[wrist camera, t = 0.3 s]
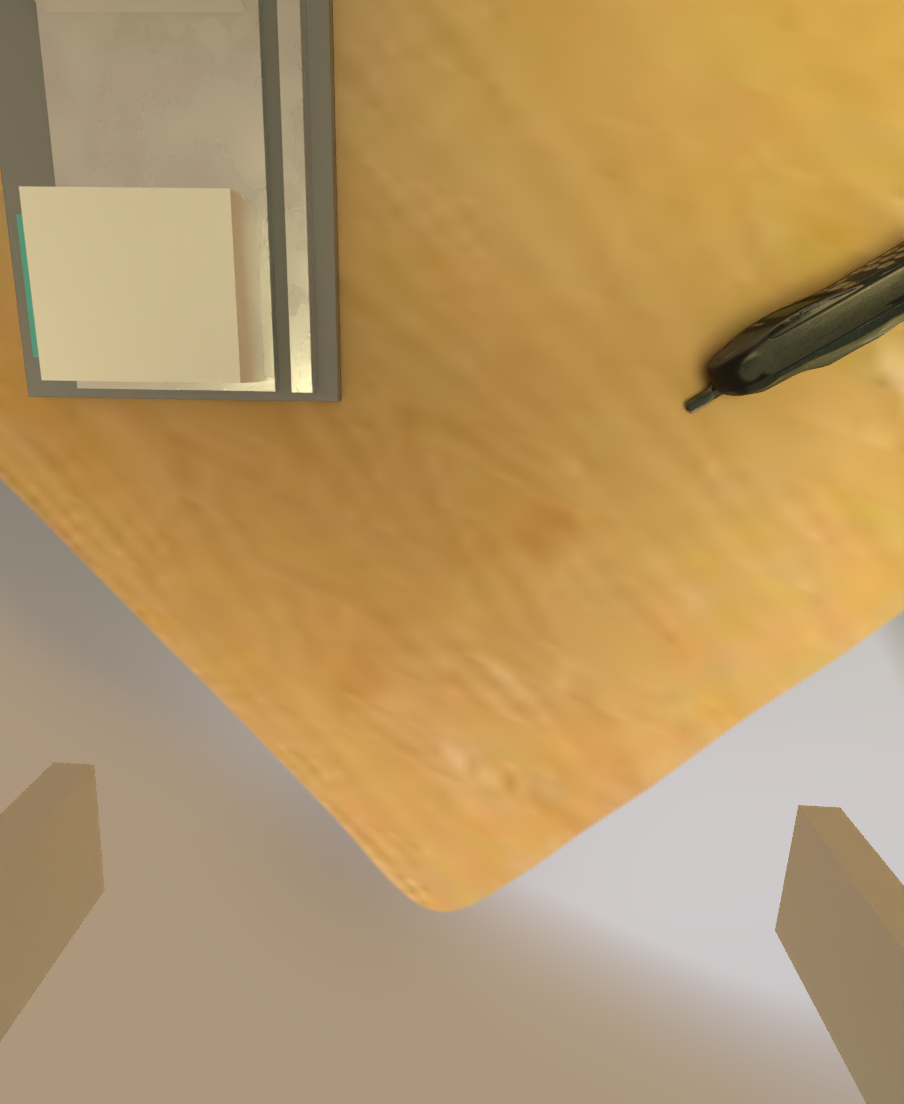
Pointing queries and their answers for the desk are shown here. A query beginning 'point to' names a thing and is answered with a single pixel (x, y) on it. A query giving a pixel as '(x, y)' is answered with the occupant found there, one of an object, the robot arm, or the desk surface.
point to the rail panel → (172, 197)
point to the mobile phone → (811, 331)
